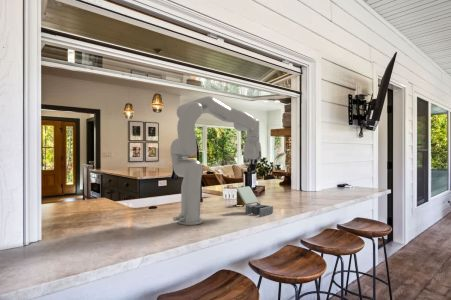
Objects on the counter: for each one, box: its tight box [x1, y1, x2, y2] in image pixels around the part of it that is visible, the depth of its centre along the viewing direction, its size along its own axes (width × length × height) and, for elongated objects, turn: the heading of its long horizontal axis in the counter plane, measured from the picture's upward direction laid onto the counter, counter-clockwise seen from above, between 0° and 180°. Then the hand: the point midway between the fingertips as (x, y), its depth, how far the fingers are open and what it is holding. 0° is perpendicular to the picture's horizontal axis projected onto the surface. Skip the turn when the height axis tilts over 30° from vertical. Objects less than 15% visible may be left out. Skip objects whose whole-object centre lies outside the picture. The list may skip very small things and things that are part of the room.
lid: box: [236, 185, 259, 205], centre depth 175 cm, size 12×11×1 cm
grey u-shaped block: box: [245, 202, 274, 218], centre depth 170 cm, size 12×11×5 cm
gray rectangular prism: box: [252, 204, 266, 216], centre depth 170 cm, size 8×3×5 cm, turn 132°
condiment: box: [236, 186, 245, 205], centre depth 196 cm, size 7×8×12 cm
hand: (252, 170), depth 174 cm, fingers closed
